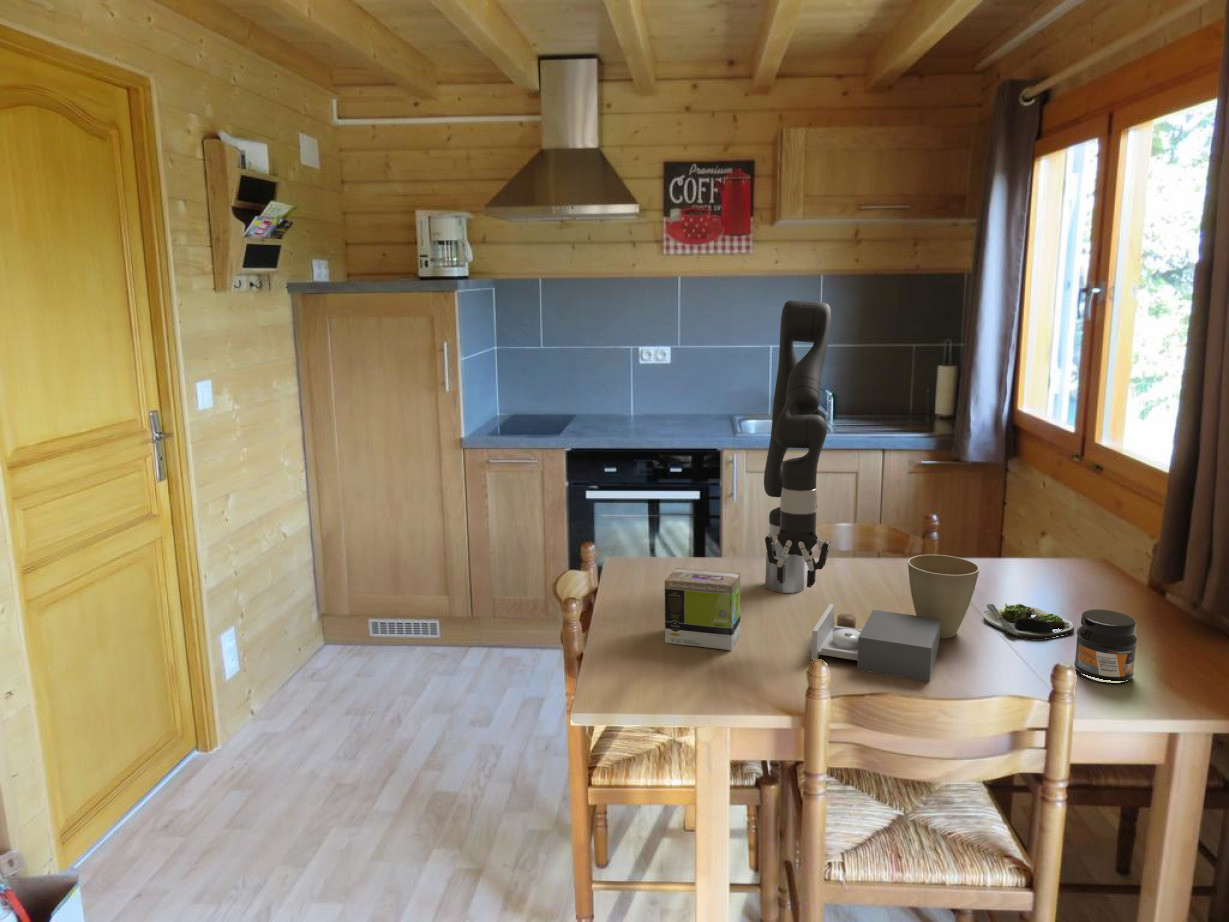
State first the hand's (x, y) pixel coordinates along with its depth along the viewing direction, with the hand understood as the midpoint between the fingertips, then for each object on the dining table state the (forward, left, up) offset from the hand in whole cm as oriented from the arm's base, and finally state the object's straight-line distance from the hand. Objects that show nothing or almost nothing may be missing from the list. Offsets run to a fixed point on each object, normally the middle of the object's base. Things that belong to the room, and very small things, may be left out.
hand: (796, 584), depth 196 cm
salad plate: (+46, +31, -14) cm, 57 cm away
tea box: (-19, -6, -14) cm, 24 cm away
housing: (+22, 0, -13) cm, 26 cm away
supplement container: (+60, +9, -14) cm, 62 cm away
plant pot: (+28, +19, -14) cm, 36 cm away
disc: (+12, 0, -11) cm, 16 cm away
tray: (+13, 0, -13) cm, 18 cm away
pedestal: (+9, +11, -13) cm, 20 cm away
